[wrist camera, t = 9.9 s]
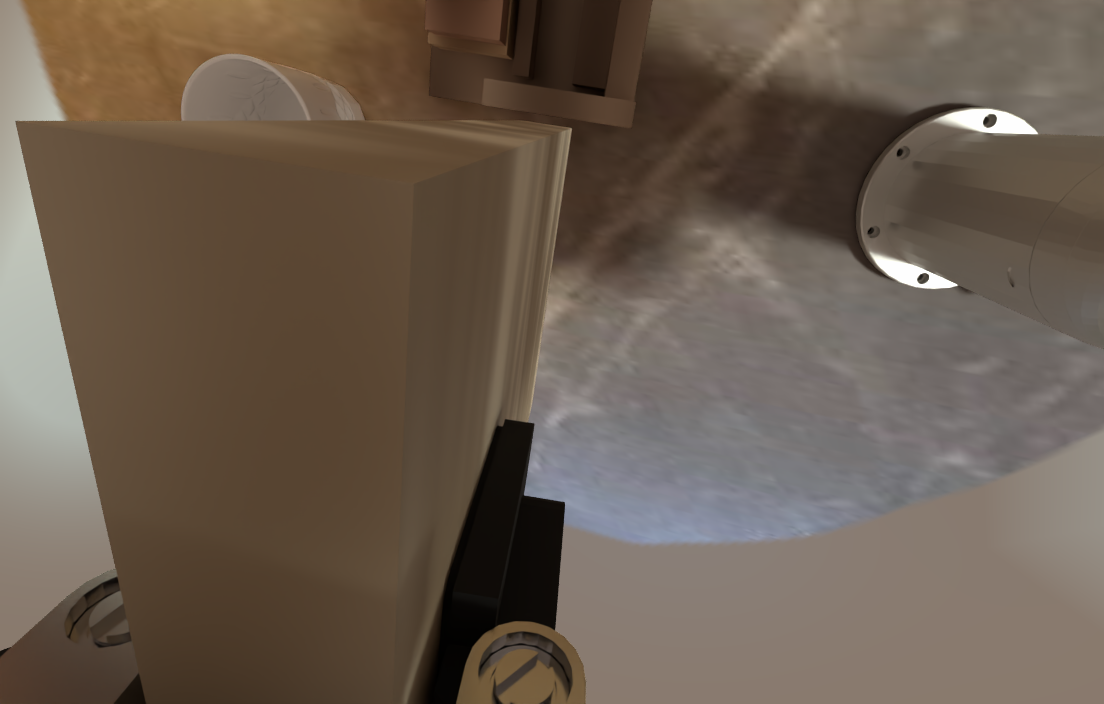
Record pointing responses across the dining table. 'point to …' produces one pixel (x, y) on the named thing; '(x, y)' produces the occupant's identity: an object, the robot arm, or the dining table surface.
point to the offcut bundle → (473, 26)
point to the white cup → (262, 93)
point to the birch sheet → (294, 378)
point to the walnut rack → (556, 62)
